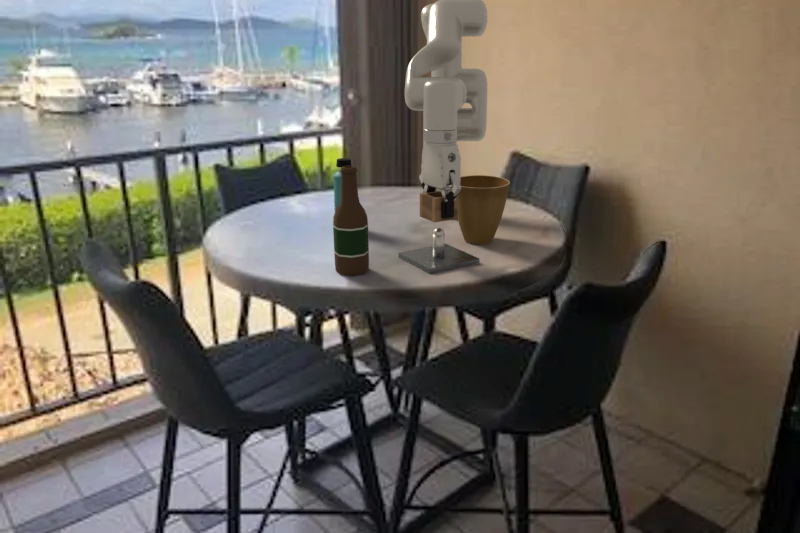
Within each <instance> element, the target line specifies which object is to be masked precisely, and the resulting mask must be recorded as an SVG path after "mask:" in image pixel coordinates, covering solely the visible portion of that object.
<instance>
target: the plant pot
mask: <svg viewBox="0 0 800 533" xmlns="http://www.w3.org/2000/svg"><path fill="white" fill-rule="evenodd" d="M510 184H511V182H510V180H508V179H506V178H504V177H500V176H495V175H485V174H481V175H479V174H478V175H477V174H473V175H464V176H461V180H460V186H461V190H460V192H459V193H458V219H457V222H458V225H459V228H460V232H461V234H462V236H463V239H464V242H466V243H468V242H469V243H468V244H471V243H473V245H487V244H490V243H492V242H493V240H494V238H495V235H496V233H497V232H498V229H499V225H500V223H501V220H502V217H503V214H504V210H505V208H506V202H507V198H508V193H509V189H510ZM486 243H487V244H486Z"/></svg>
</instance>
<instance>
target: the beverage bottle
mask: <svg viewBox="0 0 800 533" xmlns="http://www.w3.org/2000/svg"><path fill="white" fill-rule="evenodd" d="M352 164H353V163H352V159H351V158H349V157H342V158H337V159H336V168H341V167H343V166H353V165H352ZM341 174H342V173H341V172H340V170H336V172H334V173H333V175H332V178H333V196H334V197H333V199H334V200H333V203H334V212H335V211H336V209H337V207H338V206H339V204H340V200H341Z"/></svg>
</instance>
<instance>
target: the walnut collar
mask: <svg viewBox="0 0 800 533" xmlns="http://www.w3.org/2000/svg"><path fill="white" fill-rule="evenodd" d="M446 193H447V195H448V193H449V192H446ZM442 201H443V197H442V192H441V191H435V192H428V193H423V192H421V193H419V217H420V218H423V219H425V220H428V221H430V222H433V223H440V222H447V221H452V220H458V195H457V197H456V200H455V201H454V217H453V218H447V219H442V218H441V202H442Z"/></svg>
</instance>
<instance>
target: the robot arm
mask: <svg viewBox="0 0 800 533" xmlns="http://www.w3.org/2000/svg"><path fill="white" fill-rule="evenodd" d="M420 19H421V20H420V21H421V26H422V30H423V33H424V35H425V38H426V45H425V46H423V47H422V48H421V49H420V50H418V51H417V53H416V54H415V55H414V56H413V57H412V58H411V60H410V61H409V63H408V65H407V68H406V71H405V72H406V73H405V83H404V84H405V85H404V100H405V101H404V102H405V104H406V106H407V107H408V109H410V110H412V111H415V112H416V111H421V112H422V113H423V118H422V120H423V126H422V127H423V130H422V131H423V132H422V134H423V136H422V138H423V139H422V150H421V151H422V153H421V166H420V169H421V170H420V172H421V173H420V174H419V176H418V178H419V181H420V183H421V187H422V189H423V191H422V193H428V192H435V191H441V192H442V197H443V201H442V202H441V218H442V219H447V218H453V217H454V201H455V200H456V197H457V195H458V193H459V192H460V190H461V186H460V180H461V177H462V176H461V172H462V171H461V170H462V169H461V166H462V163H461V162H462V161H461V160H462V158H461V153H460V150H459V145H458V144H457V143H458V142H479V141H482V140H483V139H484V138H485V136H486V132H487V122H488V121H487V119H488V79H487V75H486V73H485V72H484V71H483V70H482V69H481V68H463V67H462V56H463V55H462V53H463V52H462V47H463V46H462V41H463V38H462V37H481V36H482V35H484V33H485V31H486V29H487V26H488V25H487V24H488V10H487V6H486V3H485V2H484V1H483V0H437V1H435V2H434V3H430V4H427V5H425V6H423V8H422V10H421V12H420ZM430 72H431V74H430V75H431V76H430V77H428V76H427V77H426V76H425V75H427V74H428V73H430ZM464 104H469V105H470V106H471V107H463V106H464ZM446 192H449V193H448V195H447V193H446Z"/></svg>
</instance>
